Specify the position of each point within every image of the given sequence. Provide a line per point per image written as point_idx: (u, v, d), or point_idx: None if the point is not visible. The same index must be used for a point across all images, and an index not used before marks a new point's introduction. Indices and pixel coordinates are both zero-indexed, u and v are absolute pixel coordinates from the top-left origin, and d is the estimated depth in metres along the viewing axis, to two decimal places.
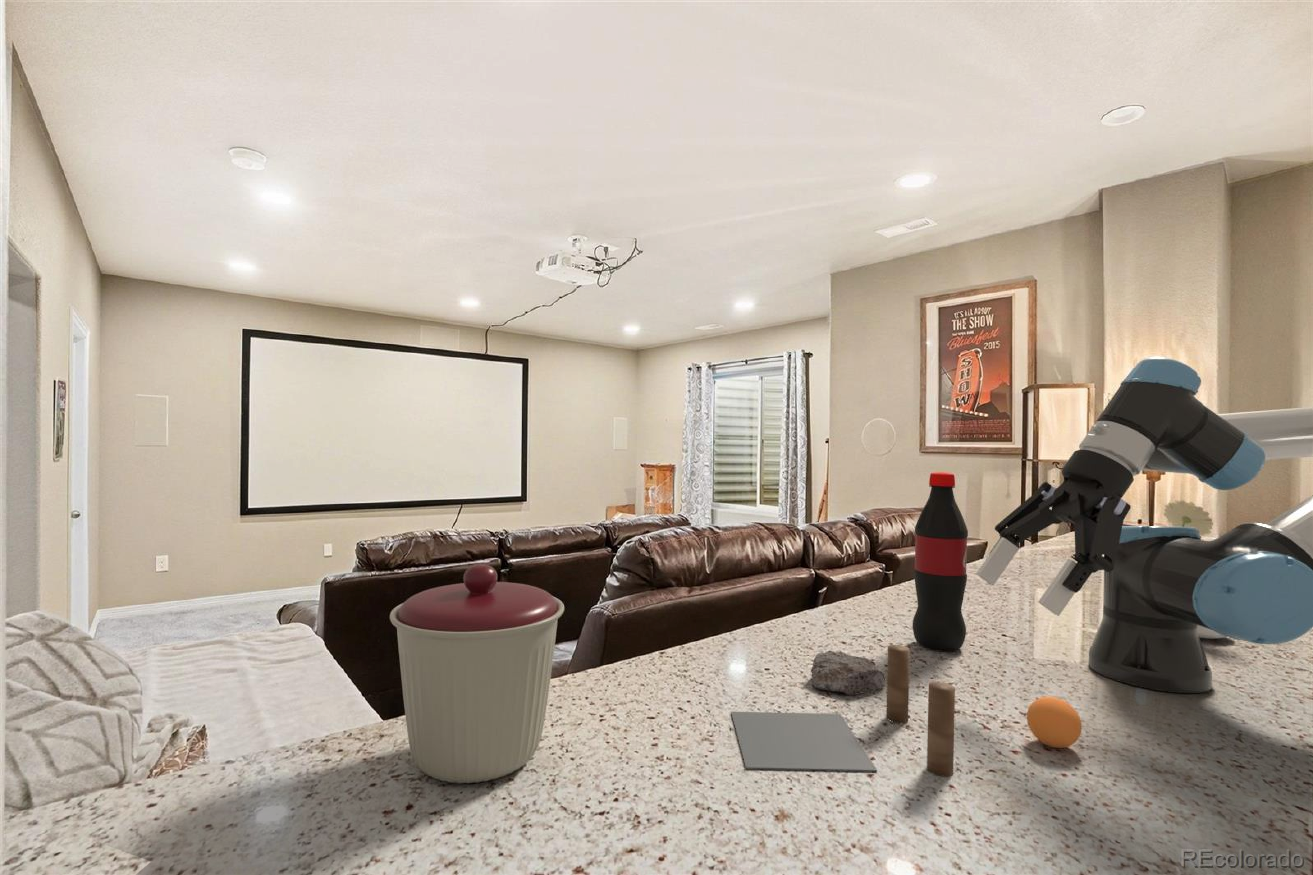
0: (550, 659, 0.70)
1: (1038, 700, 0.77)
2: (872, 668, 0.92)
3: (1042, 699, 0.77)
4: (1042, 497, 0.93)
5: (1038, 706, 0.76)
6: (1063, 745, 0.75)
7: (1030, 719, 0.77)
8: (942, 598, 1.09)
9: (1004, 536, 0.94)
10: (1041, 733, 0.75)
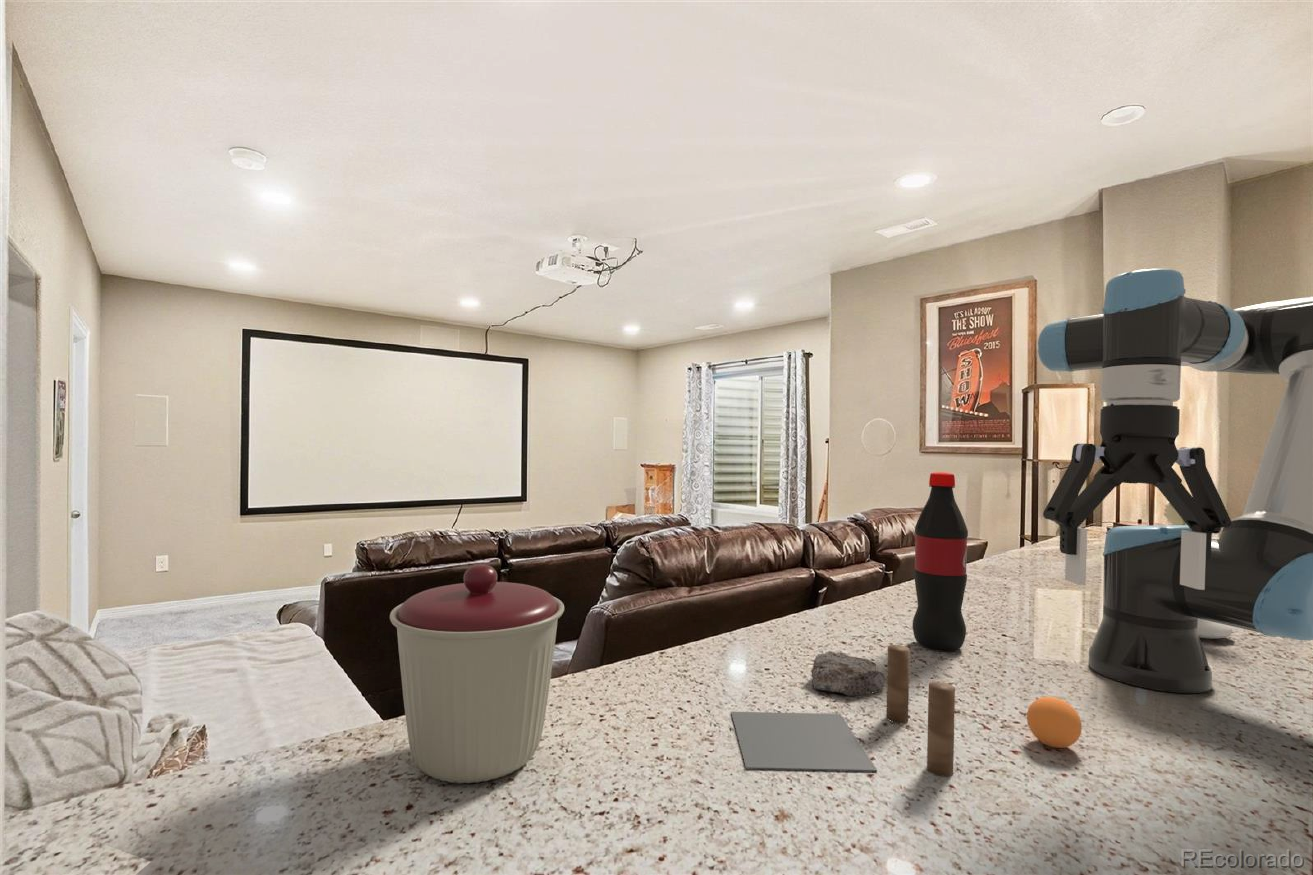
0: (550, 659, 0.70)
1: (1038, 700, 0.77)
2: (872, 669, 0.91)
3: (1042, 699, 0.77)
4: None
5: (1038, 706, 0.76)
6: (1063, 745, 0.75)
7: (1030, 719, 0.77)
8: (942, 598, 1.09)
9: None
10: (1041, 733, 0.75)
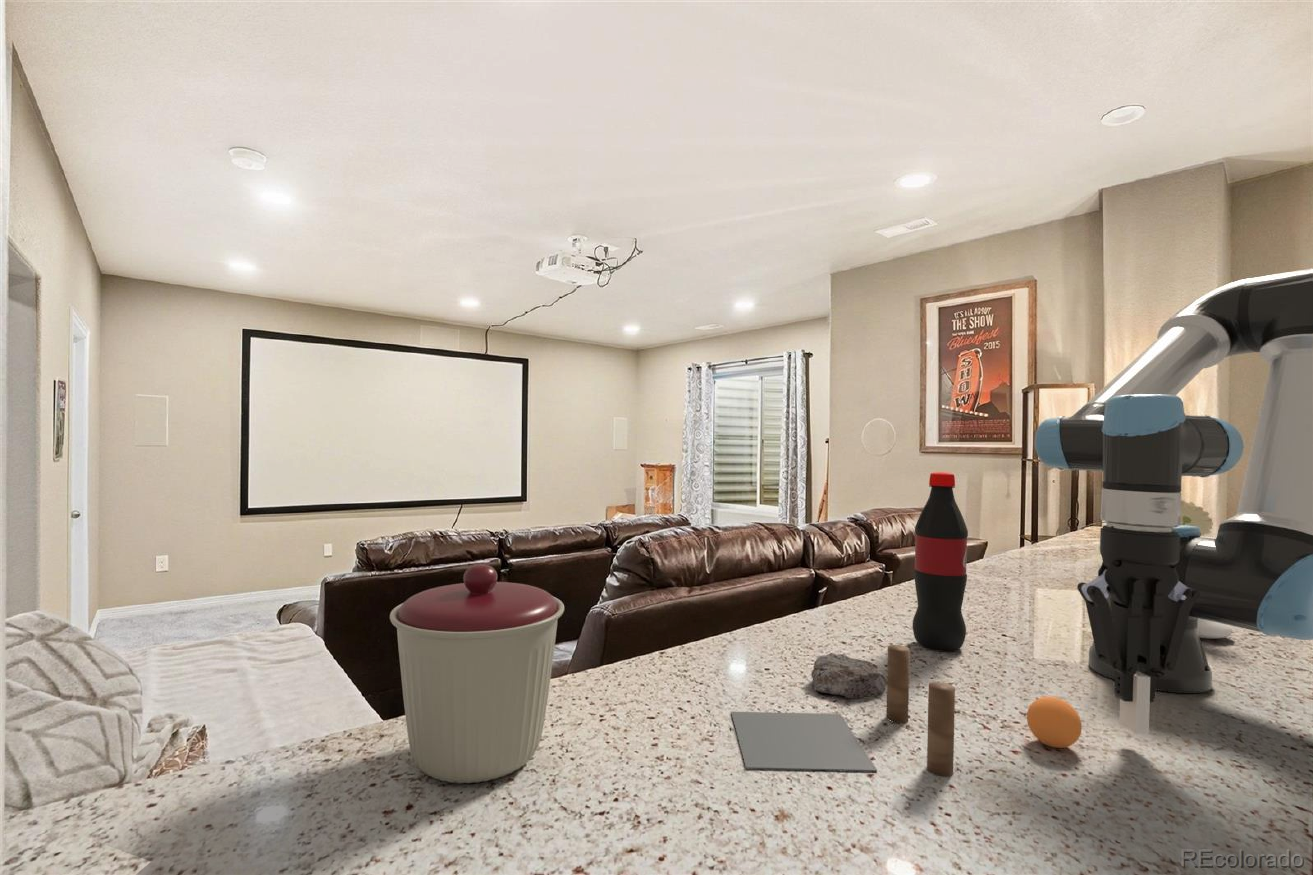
0: (550, 659, 0.70)
1: (1038, 700, 0.77)
2: (873, 671, 0.90)
3: (1042, 699, 0.77)
4: None
5: (1038, 706, 0.76)
6: (1063, 745, 0.75)
7: (1030, 719, 0.77)
8: (942, 598, 1.09)
9: None
10: (1041, 733, 0.75)
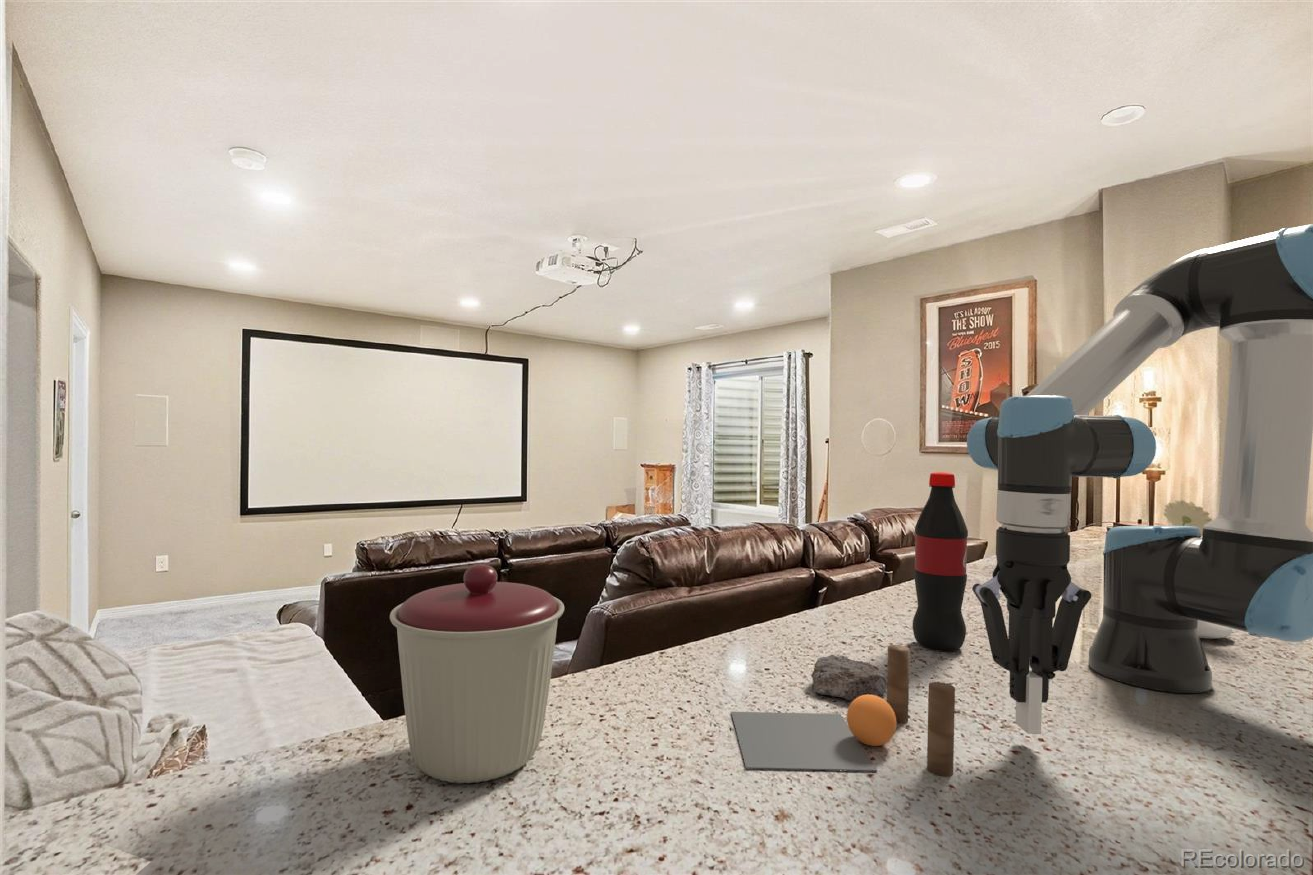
0: (550, 659, 0.70)
1: None
2: (874, 673, 0.90)
3: (847, 722, 0.77)
4: None
5: None
6: (892, 732, 0.74)
7: None
8: (942, 598, 1.09)
9: None
10: (876, 745, 0.75)
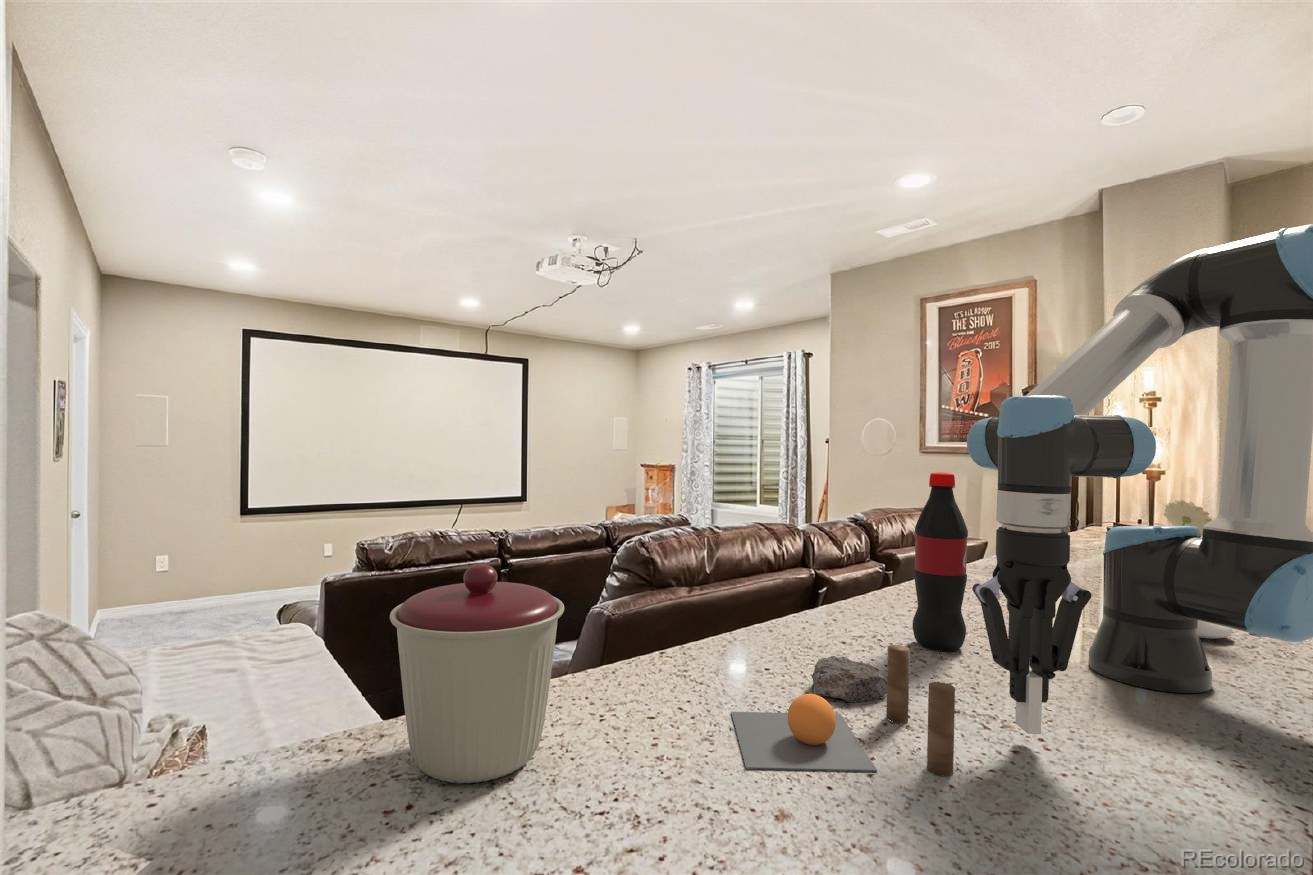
0: (550, 659, 0.70)
1: None
2: (874, 675, 0.89)
3: None
4: None
5: None
6: (806, 714, 0.74)
7: (829, 704, 0.76)
8: (942, 598, 1.09)
9: None
10: (824, 705, 0.75)
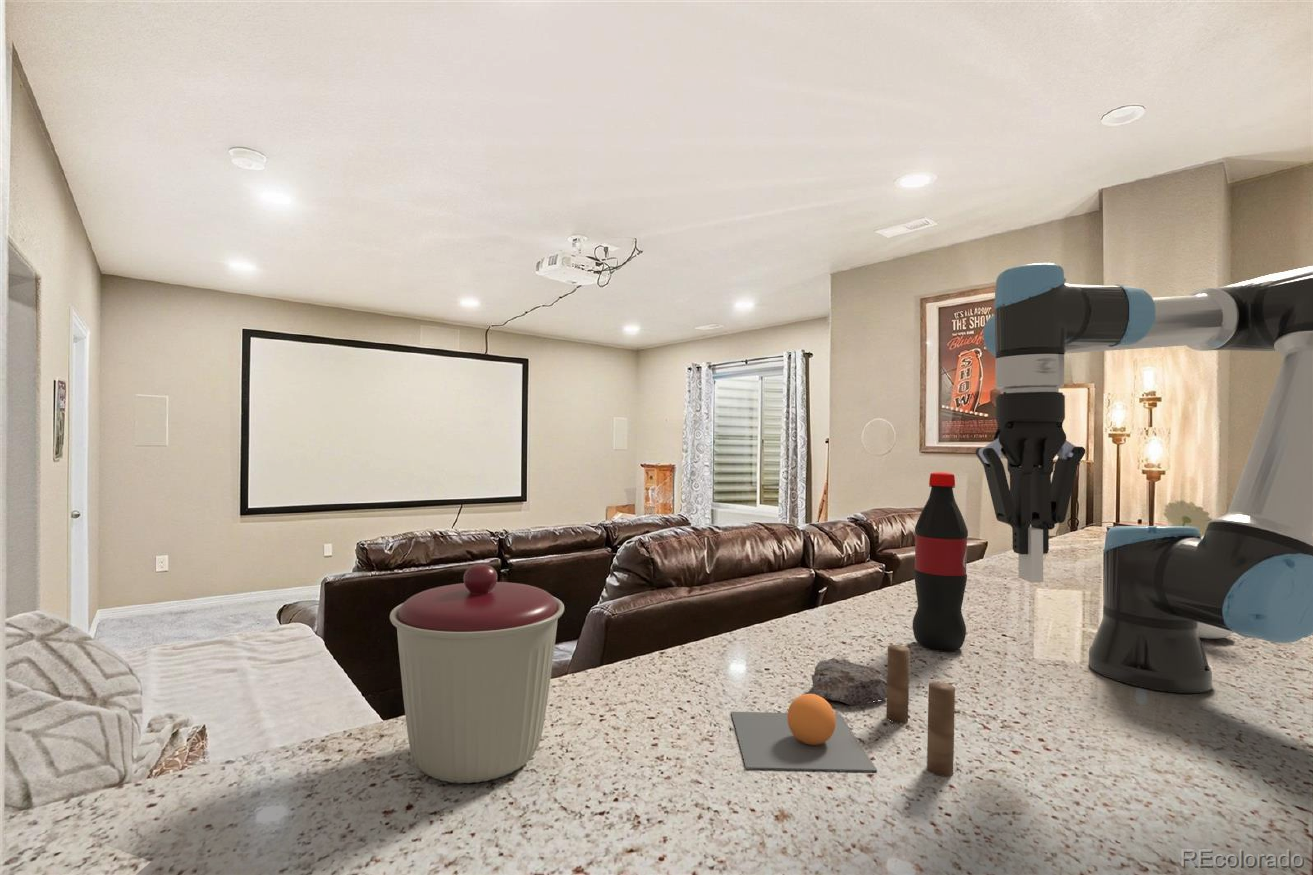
0: (550, 659, 0.70)
1: None
2: (875, 677, 0.88)
3: None
4: None
5: None
6: (806, 714, 0.74)
7: (829, 704, 0.76)
8: (942, 598, 1.09)
9: None
10: (824, 705, 0.75)
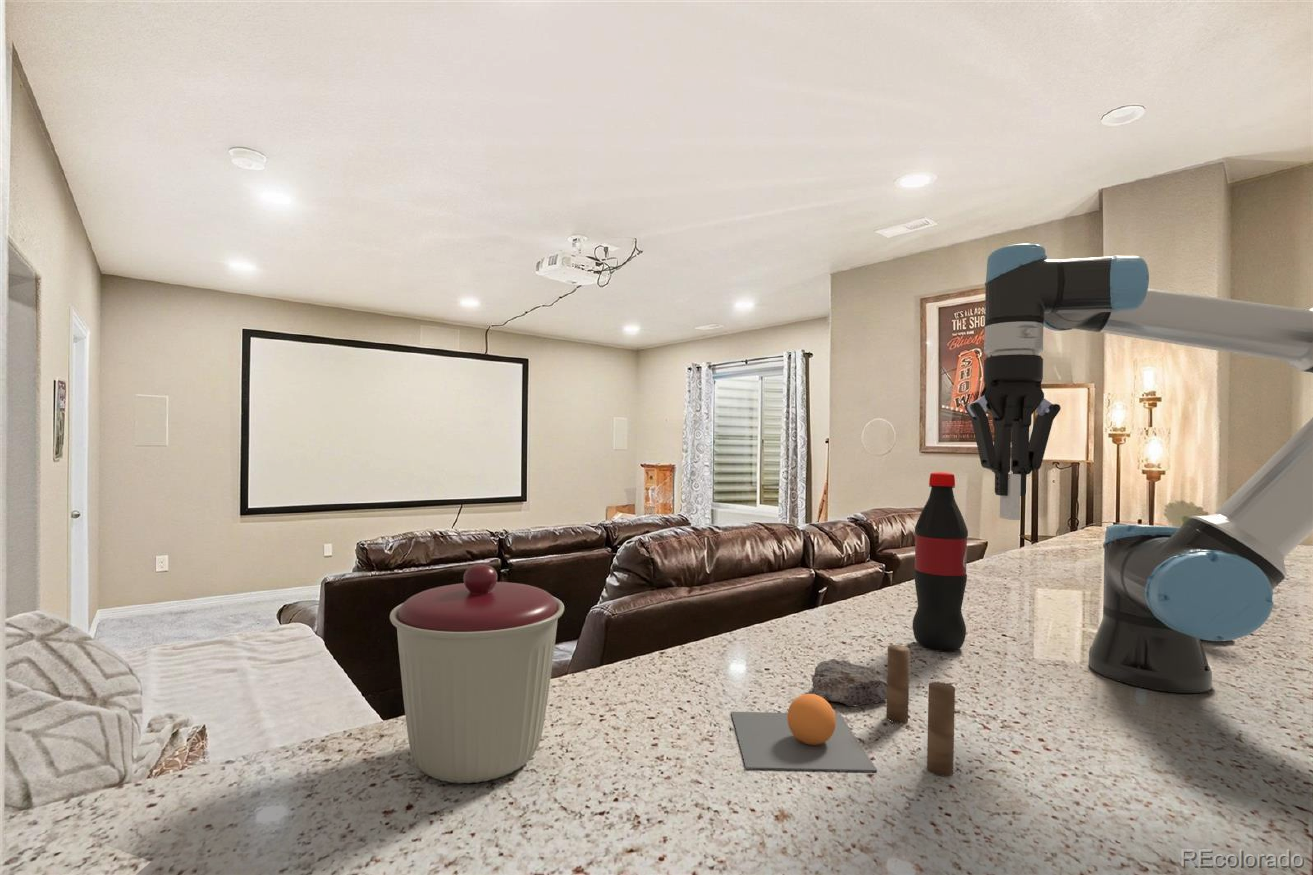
0: (550, 659, 0.70)
1: None
2: (875, 679, 0.88)
3: None
4: None
5: None
6: (806, 714, 0.74)
7: (829, 704, 0.76)
8: (942, 598, 1.09)
9: (1009, 469, 0.93)
10: (824, 705, 0.75)
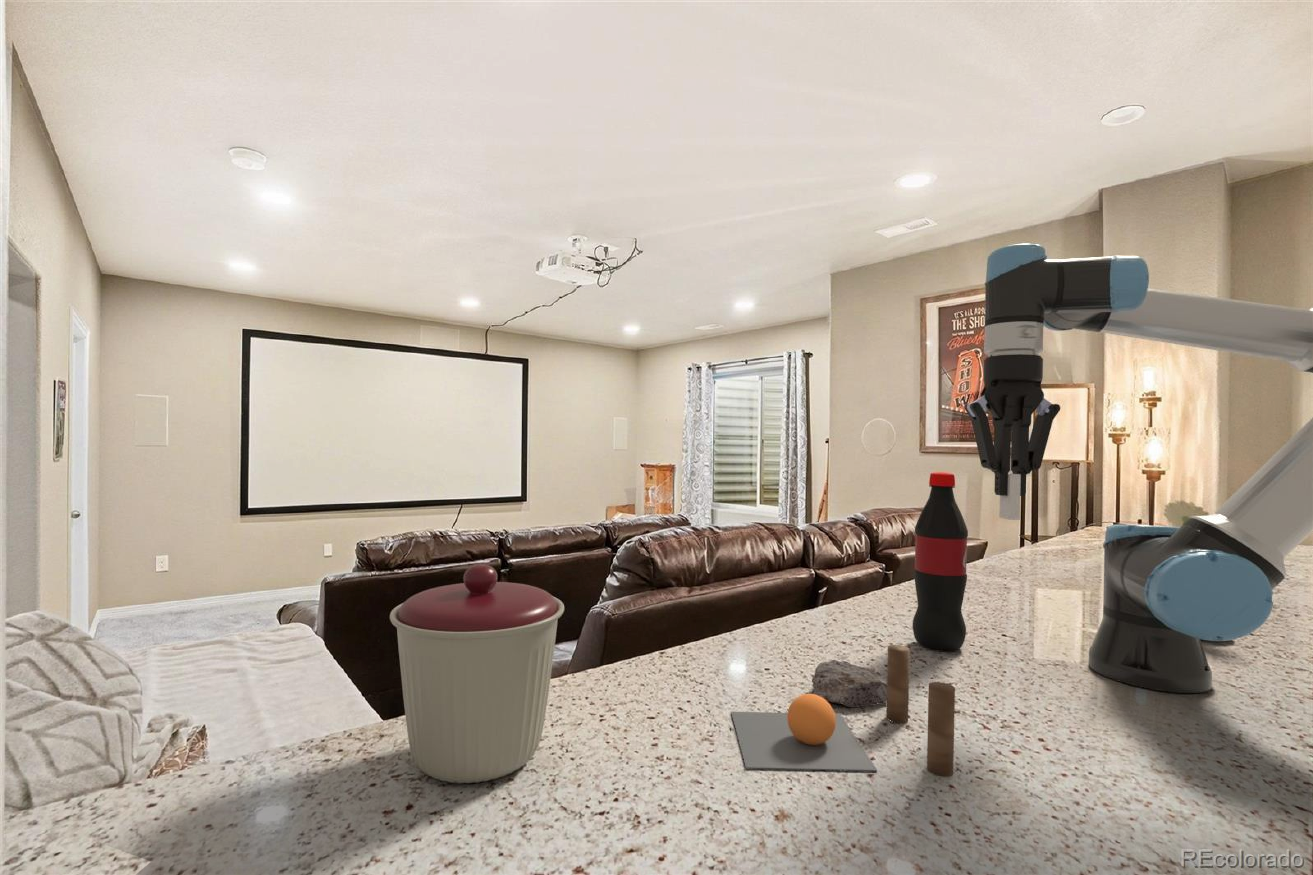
0: (550, 659, 0.70)
1: None
2: (875, 680, 0.87)
3: None
4: None
5: None
6: (806, 714, 0.74)
7: (829, 704, 0.76)
8: (942, 598, 1.09)
9: None
10: (824, 705, 0.75)
